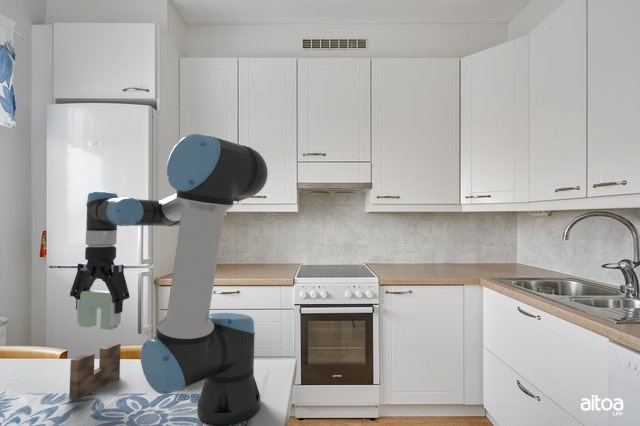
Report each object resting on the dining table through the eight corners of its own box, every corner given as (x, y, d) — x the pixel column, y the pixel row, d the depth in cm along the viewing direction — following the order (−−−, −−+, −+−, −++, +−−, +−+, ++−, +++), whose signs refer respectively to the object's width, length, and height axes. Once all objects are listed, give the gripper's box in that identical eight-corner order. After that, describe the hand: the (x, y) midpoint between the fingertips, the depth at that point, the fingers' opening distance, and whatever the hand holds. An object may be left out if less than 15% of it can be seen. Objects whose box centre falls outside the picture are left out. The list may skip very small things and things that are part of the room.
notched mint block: (117, 327, 98) (119, 291, 99) (110, 329, 96) (112, 293, 96) (86, 324, 101) (87, 289, 101) (79, 326, 98) (80, 291, 99)
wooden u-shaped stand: (112, 376, 104) (114, 342, 105) (119, 377, 104) (120, 343, 104) (69, 398, 91) (70, 359, 91) (76, 399, 90) (77, 360, 91)
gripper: (145, 246, 100) (143, 322, 99) (80, 244, 106) (77, 316, 105) (124, 247, 93) (122, 330, 92) (56, 245, 98) (53, 323, 98)
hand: (98, 323), depth 98 cm, fingers closed on notched mint block, 11 cm apart
